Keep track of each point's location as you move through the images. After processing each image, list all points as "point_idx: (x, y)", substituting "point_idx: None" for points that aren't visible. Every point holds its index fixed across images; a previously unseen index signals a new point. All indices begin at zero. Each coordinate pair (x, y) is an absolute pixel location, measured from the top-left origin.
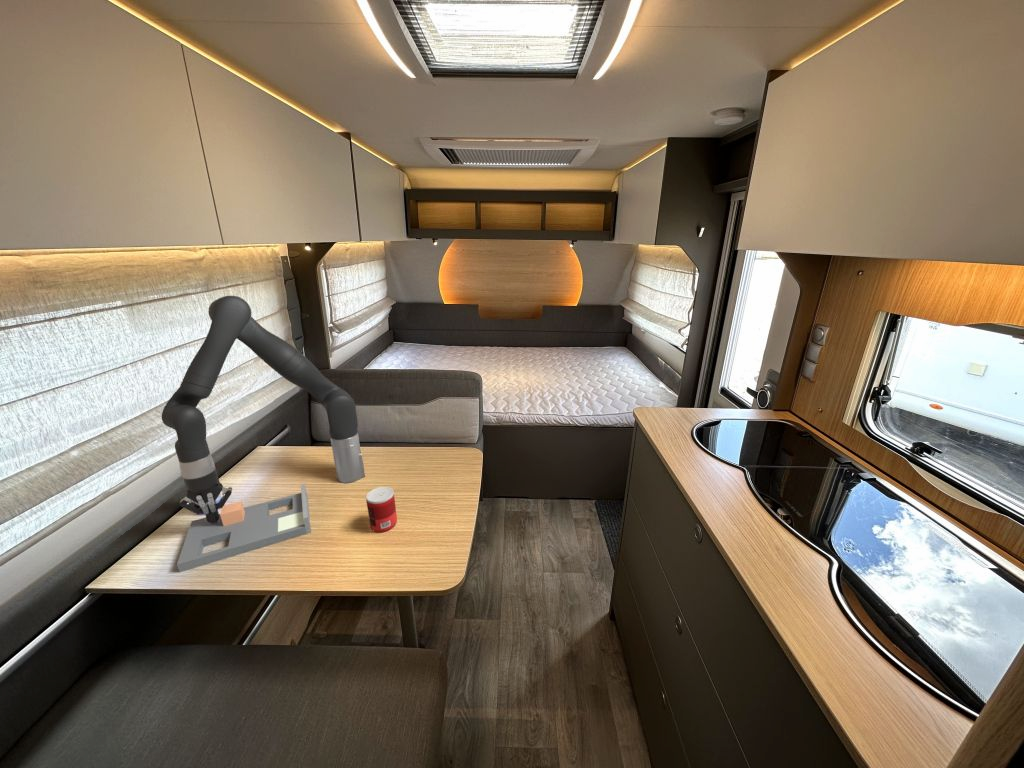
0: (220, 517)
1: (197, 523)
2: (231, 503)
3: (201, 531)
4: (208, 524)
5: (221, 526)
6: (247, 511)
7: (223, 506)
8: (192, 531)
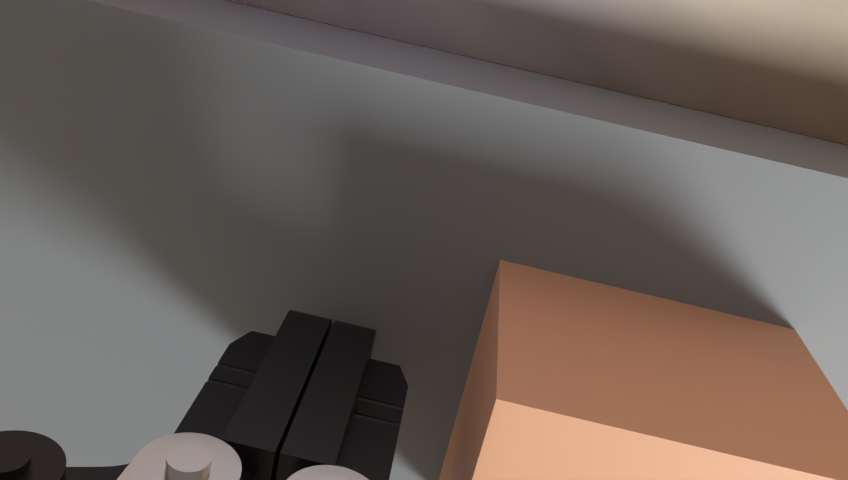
0: (425, 223)
1: (88, 138)
2: (682, 440)
3: (164, 413)
4: (248, 296)
5: (410, 474)
6: (829, 351)
7: (509, 443)
8: (47, 323)
